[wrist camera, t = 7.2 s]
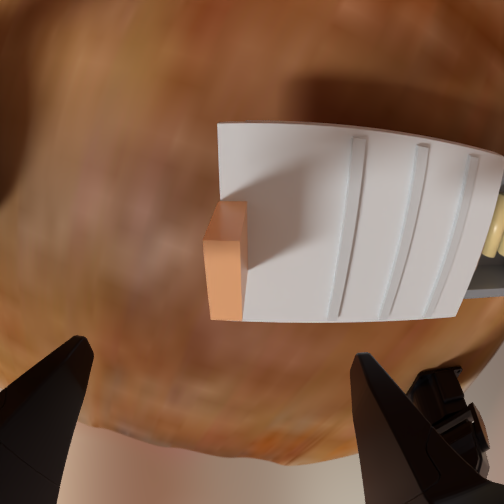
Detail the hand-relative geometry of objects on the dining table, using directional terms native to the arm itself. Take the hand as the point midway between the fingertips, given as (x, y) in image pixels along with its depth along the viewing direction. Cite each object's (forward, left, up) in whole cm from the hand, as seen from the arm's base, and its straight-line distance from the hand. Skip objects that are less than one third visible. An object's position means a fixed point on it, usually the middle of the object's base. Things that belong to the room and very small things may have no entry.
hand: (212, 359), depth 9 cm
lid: (0, -7, -9) cm, 12 cm away
